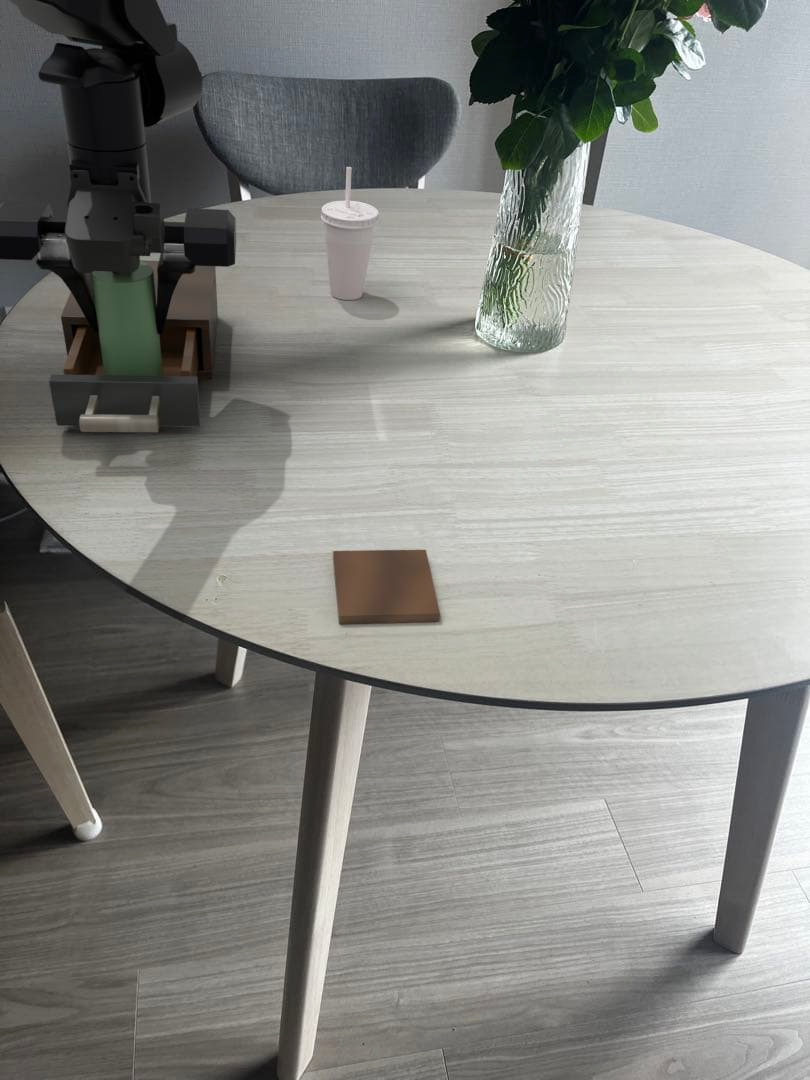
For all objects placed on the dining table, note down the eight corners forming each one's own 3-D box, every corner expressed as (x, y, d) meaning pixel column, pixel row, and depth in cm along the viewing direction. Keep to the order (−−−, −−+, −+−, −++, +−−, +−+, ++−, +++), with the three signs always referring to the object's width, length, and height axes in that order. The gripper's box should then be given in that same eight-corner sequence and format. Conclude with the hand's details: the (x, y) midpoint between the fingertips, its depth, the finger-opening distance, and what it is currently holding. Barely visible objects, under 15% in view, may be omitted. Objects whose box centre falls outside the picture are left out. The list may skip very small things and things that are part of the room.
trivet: (338, 624, 62) (339, 615, 61) (332, 558, 67) (333, 550, 66) (438, 621, 63) (440, 613, 62) (425, 557, 68) (426, 549, 67)
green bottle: (101, 391, 78) (84, 270, 71) (109, 364, 82) (93, 247, 75) (160, 392, 79) (149, 272, 72) (165, 365, 83) (154, 249, 76)
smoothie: (352, 278, 108) (358, 157, 99) (385, 298, 104) (394, 174, 96) (308, 288, 105) (310, 164, 96) (340, 309, 101) (345, 181, 92)
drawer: (196, 456, 74) (193, 411, 72) (46, 456, 73) (37, 410, 70) (206, 359, 88) (204, 317, 85) (79, 356, 86) (73, 314, 83)
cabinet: (212, 378, 86) (209, 319, 83) (70, 376, 84) (60, 316, 81) (217, 317, 97) (215, 262, 93) (91, 314, 95) (83, 258, 91)
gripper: (-54, 167, 60) (-7, 375, 70) (229, 180, 63) (236, 378, 73) (-15, 123, 69) (22, 313, 78) (233, 136, 72) (239, 318, 81)
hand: (128, 331), depth 77 cm, fingers closed on green bottle, 5 cm apart
